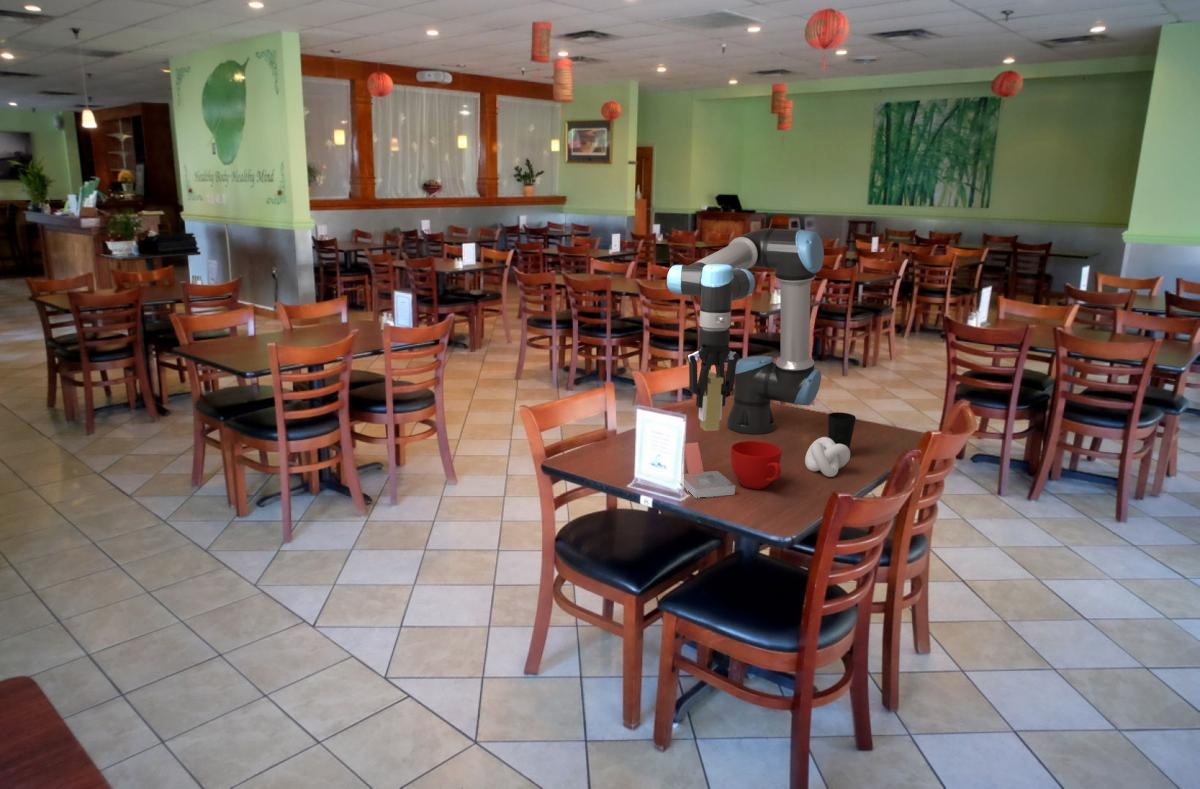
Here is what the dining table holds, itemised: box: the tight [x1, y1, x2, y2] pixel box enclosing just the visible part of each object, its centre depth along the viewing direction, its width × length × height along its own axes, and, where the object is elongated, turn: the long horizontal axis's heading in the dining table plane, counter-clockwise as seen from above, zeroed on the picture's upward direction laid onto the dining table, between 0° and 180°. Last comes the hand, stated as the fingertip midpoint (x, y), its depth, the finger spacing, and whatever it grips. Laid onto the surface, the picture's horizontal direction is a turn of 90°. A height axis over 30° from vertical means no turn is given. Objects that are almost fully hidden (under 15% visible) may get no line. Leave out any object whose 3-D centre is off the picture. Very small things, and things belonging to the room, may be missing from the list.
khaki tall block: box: [699, 371, 723, 432], centre depth 204 cm, size 6×4×14 cm, turn 16°
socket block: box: [683, 470, 736, 499], centre depth 210 cm, size 11×11×2 cm
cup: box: [827, 411, 857, 456], centre depth 236 cm, size 8×8×12 cm
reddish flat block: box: [683, 442, 705, 473], centre depth 218 cm, size 10×5×2 cm
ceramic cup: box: [730, 440, 782, 490], centre depth 211 cm, size 13×17×10 cm
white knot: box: [804, 436, 851, 478], centre depth 222 cm, size 11×12×9 cm
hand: (709, 418), depth 206 cm, fingers closed on khaki tall block, 4 cm apart
